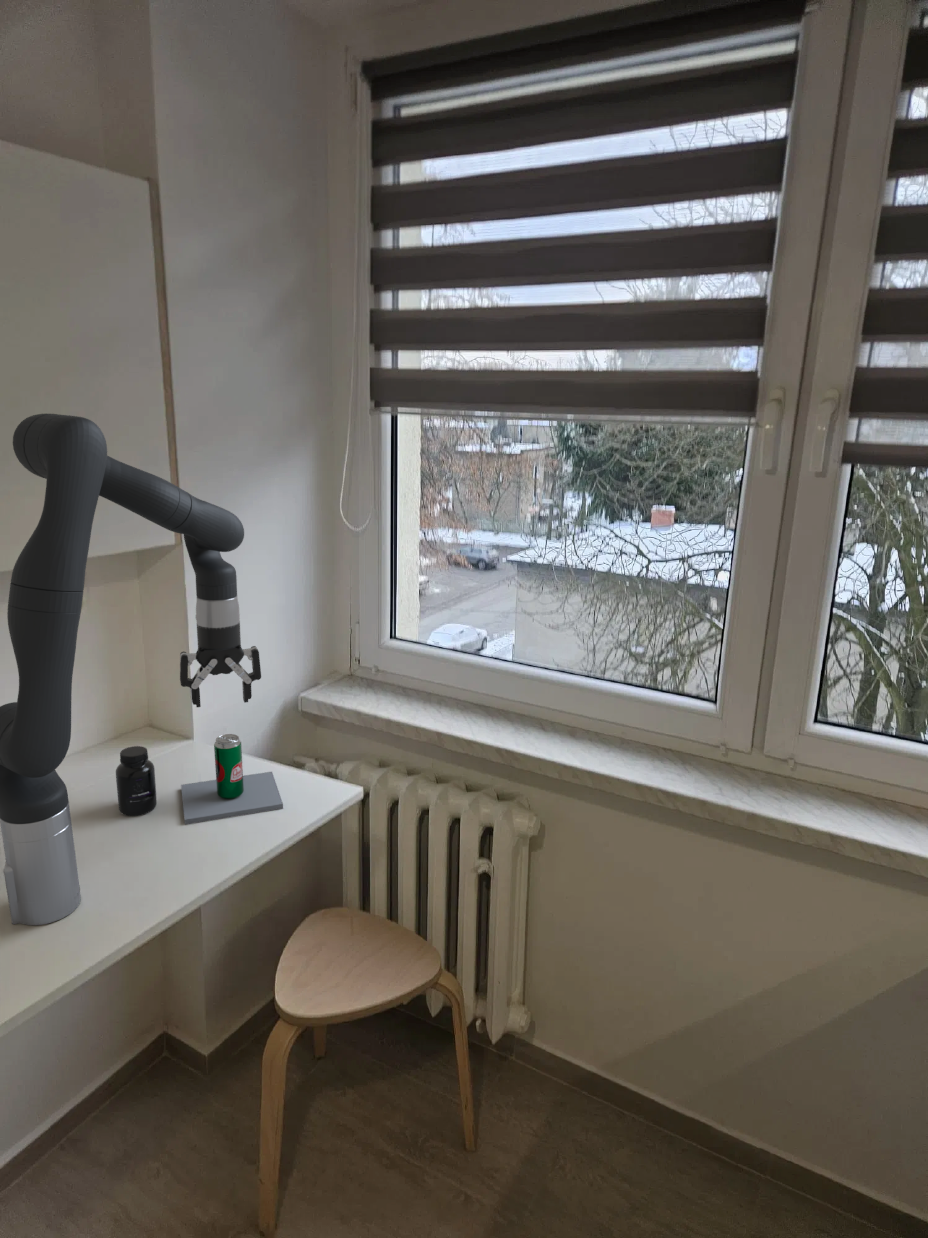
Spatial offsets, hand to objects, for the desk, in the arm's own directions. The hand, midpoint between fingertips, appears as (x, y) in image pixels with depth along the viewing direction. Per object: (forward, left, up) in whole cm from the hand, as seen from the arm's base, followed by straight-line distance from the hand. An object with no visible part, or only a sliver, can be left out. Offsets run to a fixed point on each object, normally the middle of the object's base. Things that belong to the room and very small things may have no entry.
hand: (222, 703), depth 146 cm
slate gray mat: (+1, +2, -21) cm, 21 cm away
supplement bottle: (-16, +4, -22) cm, 27 cm away
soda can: (+1, +2, -21) cm, 21 cm away
